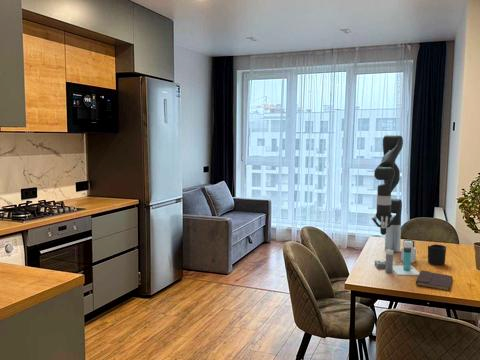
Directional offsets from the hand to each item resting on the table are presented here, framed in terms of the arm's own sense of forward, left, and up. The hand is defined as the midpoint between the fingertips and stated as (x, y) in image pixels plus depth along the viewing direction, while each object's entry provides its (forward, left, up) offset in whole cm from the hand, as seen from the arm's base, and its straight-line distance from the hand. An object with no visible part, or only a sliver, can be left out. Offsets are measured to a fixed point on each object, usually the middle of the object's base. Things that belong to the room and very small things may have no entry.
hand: (383, 234), depth 235 cm
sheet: (+7, +10, -18) cm, 22 cm away
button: (0, 0, -18) cm, 18 cm away
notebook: (+25, +19, -18) cm, 36 cm away
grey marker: (+10, +1, -18) cm, 21 cm away
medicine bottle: (-14, +18, -18) cm, 29 cm away
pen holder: (-9, +32, -18) cm, 38 cm away
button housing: (0, 0, -18) cm, 18 cm away
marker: (+7, +11, -18) cm, 22 cm away
